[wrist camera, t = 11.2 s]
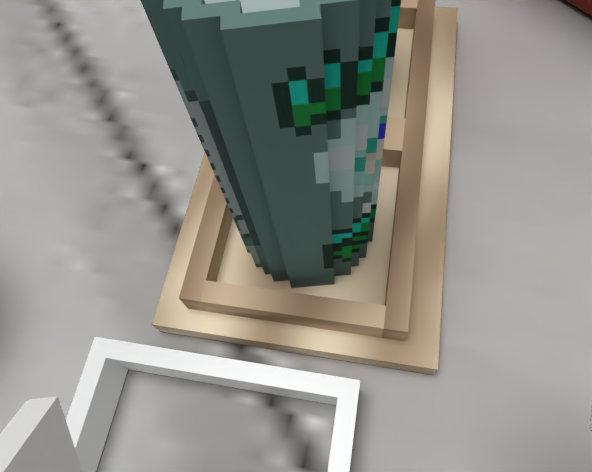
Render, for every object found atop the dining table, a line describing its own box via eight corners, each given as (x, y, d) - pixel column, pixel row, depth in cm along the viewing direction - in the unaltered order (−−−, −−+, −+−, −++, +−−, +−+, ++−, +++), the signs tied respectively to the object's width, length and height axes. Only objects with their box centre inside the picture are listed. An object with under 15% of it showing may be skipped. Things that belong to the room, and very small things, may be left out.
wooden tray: (160, 331, 24) (140, 314, 22) (254, 13, 33) (247, -23, 31) (433, 374, 22) (444, 362, 20) (453, 24, 31) (462, -14, 29)
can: (378, 280, 23) (424, 6, 10) (248, 291, 23) (120, 41, 10) (362, 171, 26) (382, -162, 12) (246, 182, 26) (143, -130, 13)
